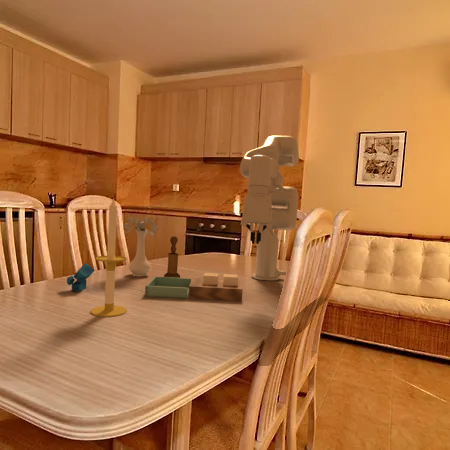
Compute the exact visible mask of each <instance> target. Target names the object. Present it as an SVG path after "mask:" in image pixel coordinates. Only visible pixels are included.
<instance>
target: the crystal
mask: <svg viewBox="0 0 450 450" xmlns="http://www.w3.org/2000/svg"><path fill="white" fill-rule="evenodd" d="M94 272H95V269H94V268H93V267H92V266H90V265H89V264H88V263H87V262H84V263H83V265H81V267H80V268H79V269H78V271H76V273H74V275H70V276H68V277H66V283H67V285H68V286H71V291H72V292H80V291H82V290H84V289H86V288H87V279H88V278H90V276H91V275H92V274H93V273H94Z"/></svg>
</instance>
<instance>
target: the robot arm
mask: <svg viewBox="0 0 450 450" xmlns="http://www.w3.org/2000/svg"><path fill="white" fill-rule="evenodd" d="M299 160H300V153H299V143H298V141H297V139H296V138H295V137H294V136H292V135H271V136H270V135H269V136H268V137H266V138H265V139H264V141H263V143H262V145H261V146H260V147H257V148H255V149H251V150H249V151H247V152H246V153H245V154H244V156H243V157H242V158H241V162H240V166H239V171H240V174H241V176H242V177H243V178H246V179H248V182H247V183H248V184H247V194H245V195H244V199H243V205H242V217H241V221H240V225H241V226H242V227H246V228H247V229H248V230H249V232H250V237H249V238H250V239H249V241H250V242H251V244H253V245H254V244H255V243H256V255H255V256H256V258H255V269H254V270H255V271H254V273H251V277H252V279H255V280H260V281H268V282H269V281H271V282H272V281H273V282H274V281H279V280H280V277H281V276H287V275H286V272H287V273H288V271H287V270H280V269H278V256H279V237H278V236H277V234H276V233H275V230H276V231H277V230H278V231H293V230H294V229H295V228H296V226H297V221H298V220H297V218H298V206H299V192H298V190H297V188H295V187H294V186H284V185H283V183H284V175H283V174H282V173H281V171H280V167H294V166H295V167H296V166H297V165H298V163H299ZM255 224H256V225H257V227H256V228H257V232H255V228H254V227H255V226H254V225H255Z"/></svg>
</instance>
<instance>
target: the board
mask: <svg viewBox="0 0 450 450" xmlns="http://www.w3.org/2000/svg"><path fill="white" fill-rule="evenodd" d="M203 279H204V277H202V278H201V277H192V278H191V283H190V286H189V294H188V299H201V300H218V301H219V300H220V301H238V302H239V301H240V302H242V301H243V289H244V288H243V286H242V282H241V279H238V286H229V285H223V279H220V278H218V285H211V284H203Z"/></svg>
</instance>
